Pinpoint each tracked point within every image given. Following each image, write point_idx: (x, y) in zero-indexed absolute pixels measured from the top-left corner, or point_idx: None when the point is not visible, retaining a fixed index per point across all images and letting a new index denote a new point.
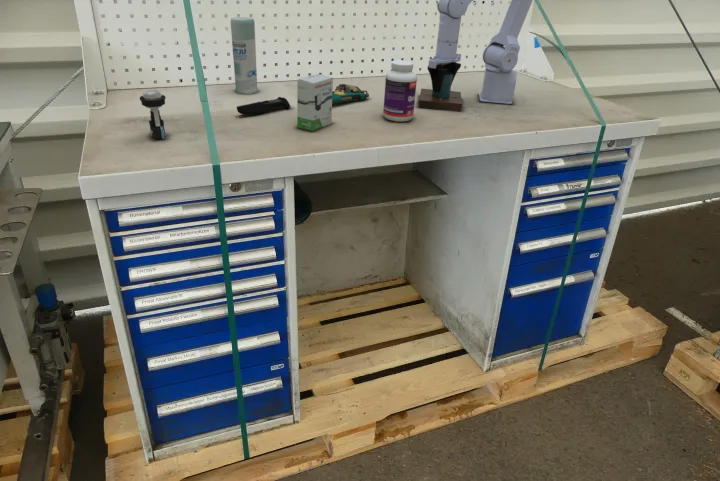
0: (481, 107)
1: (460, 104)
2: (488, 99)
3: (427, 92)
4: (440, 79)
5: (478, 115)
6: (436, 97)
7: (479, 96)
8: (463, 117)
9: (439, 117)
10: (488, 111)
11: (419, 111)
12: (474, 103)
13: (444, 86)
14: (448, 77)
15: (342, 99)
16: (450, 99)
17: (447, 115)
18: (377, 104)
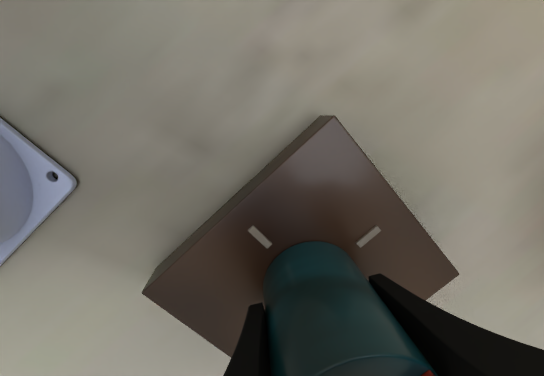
0: (153, 105)
1: (337, 121)
2: (18, 159)
3: None
4: (468, 325)
5: (293, 4)
6: None
7: (24, 238)
8: (393, 32)
9: (483, 105)
10: (173, 23)
11: (471, 216)
12: (134, 180)
13: (368, 287)
14: (381, 335)
15: None
16: (322, 211)
17: (428, 106)
18: None
